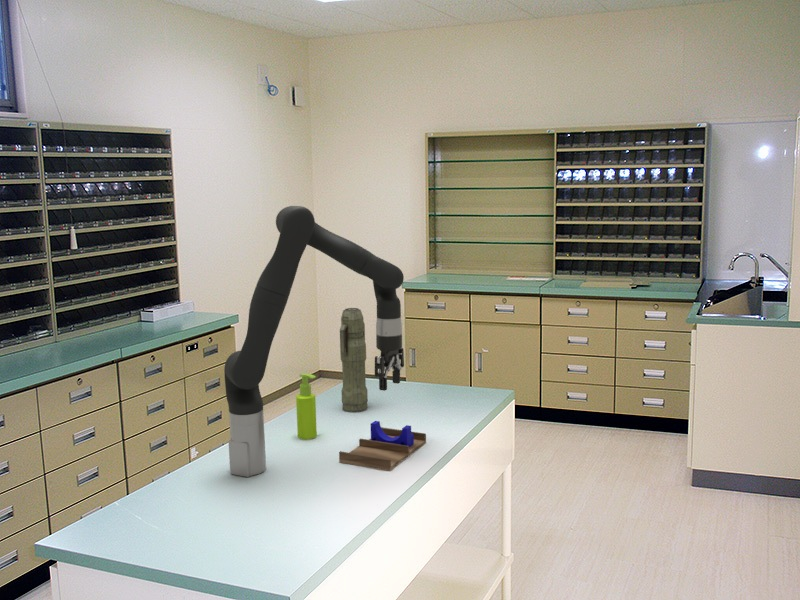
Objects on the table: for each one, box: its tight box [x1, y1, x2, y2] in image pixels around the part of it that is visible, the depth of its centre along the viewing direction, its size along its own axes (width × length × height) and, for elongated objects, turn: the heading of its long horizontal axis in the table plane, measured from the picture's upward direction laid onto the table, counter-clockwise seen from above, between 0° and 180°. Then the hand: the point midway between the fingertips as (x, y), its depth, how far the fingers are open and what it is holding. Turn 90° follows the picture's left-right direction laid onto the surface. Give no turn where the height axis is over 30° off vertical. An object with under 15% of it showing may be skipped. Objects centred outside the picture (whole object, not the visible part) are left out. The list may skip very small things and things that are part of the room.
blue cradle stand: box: [370, 420, 414, 447], centre depth 232 cm, size 12×4×6 cm, turn 63°
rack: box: [338, 426, 427, 472], centre depth 228 cm, size 24×16×3 cm, turn 154°
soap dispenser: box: [295, 372, 318, 441], centre depth 241 cm, size 6×7×20 cm
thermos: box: [339, 307, 369, 413], centre depth 268 cm, size 9×12×35 cm
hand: (389, 386), depth 230 cm, fingers open, 8 cm apart
